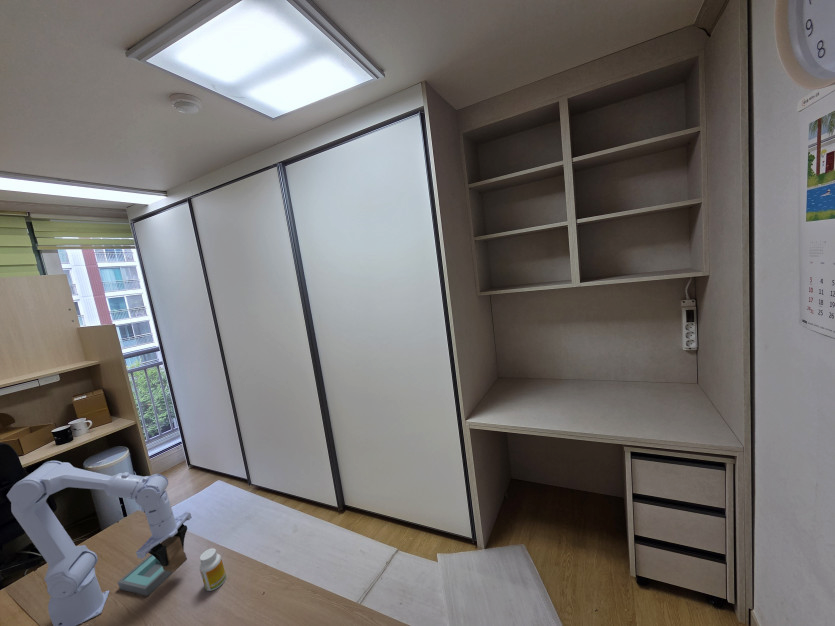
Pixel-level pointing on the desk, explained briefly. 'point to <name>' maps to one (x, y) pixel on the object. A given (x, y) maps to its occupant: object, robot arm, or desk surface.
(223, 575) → the supplement bottle
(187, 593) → the desk surface
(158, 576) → the socket box
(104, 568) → the desk surface
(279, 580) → the desk surface
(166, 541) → the peg
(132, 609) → the desk surface
